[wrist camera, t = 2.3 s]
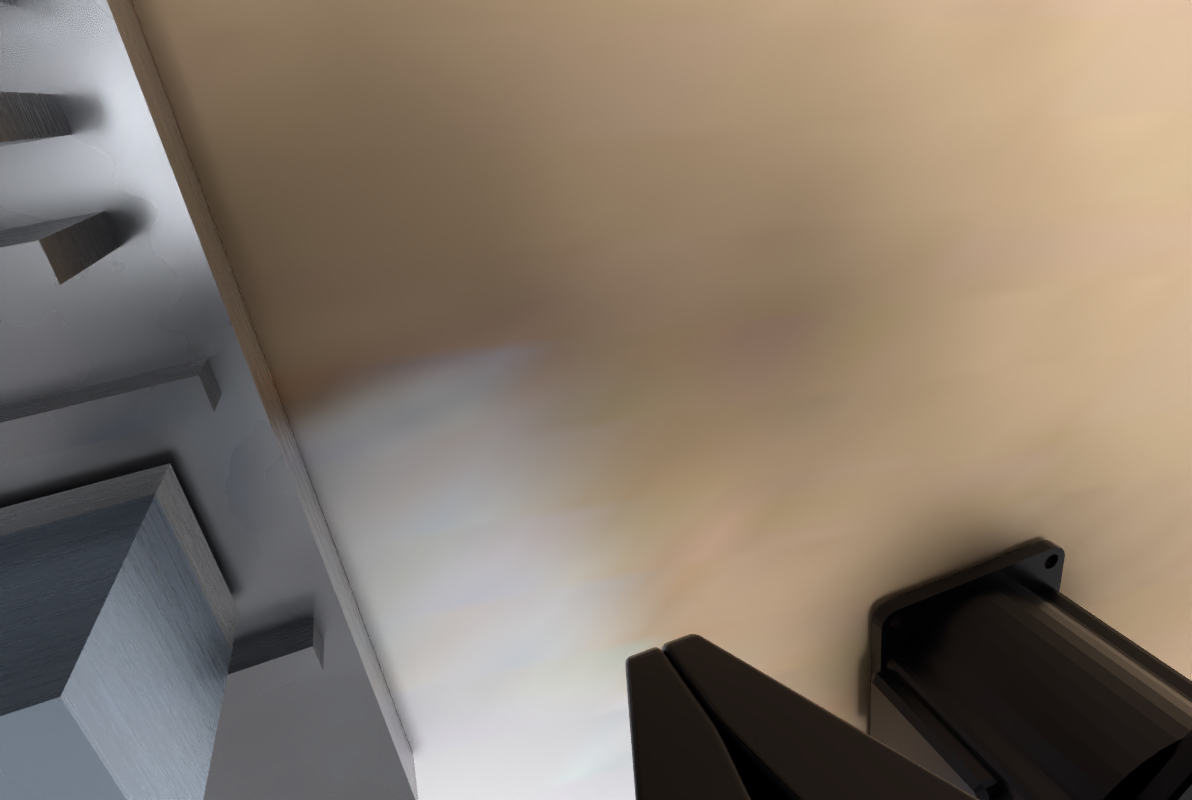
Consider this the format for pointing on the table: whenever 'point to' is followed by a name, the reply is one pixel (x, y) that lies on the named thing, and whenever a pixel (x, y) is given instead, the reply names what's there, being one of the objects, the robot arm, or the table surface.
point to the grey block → (110, 643)
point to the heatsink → (171, 394)
